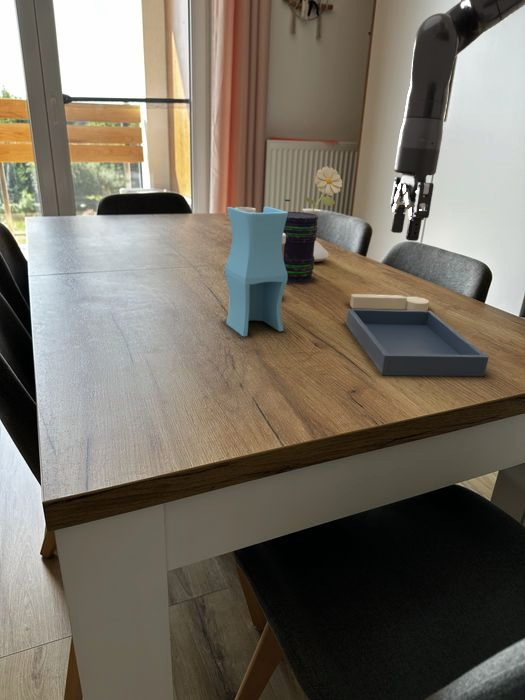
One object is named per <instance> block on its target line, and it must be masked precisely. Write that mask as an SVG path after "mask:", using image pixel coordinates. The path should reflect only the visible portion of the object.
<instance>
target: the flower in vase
mask: <svg viewBox="0 0 525 700" xmlns="http://www.w3.org/2000/svg"><path fill="white" fill-rule="evenodd" d="M315 174H316V176H315V180H314V184H315V185H316V187H317V188H318V191H319V192H320V193H321V196H320V198H319V199H318V201H317V202H316V200H315V199H312V198H310V197H308V196H306V195H304V200H305V201H306V202H307V203H309V204H312V205H314V207H313V208H302V211H303V213H310V214H315V215H317V216H318V217H319V215H320V213H321V212H322V209H319V208H317V206H318V205H319V203H320V202H321V203H322V204H323V205H324V206H326V207H329V206H333V205H336V202H335V200H334V199H333V198H332V197H333V196H335V194H338V193H340V192H341V188H342V187H343V179H341V175H340V174H339V172H338V171H337V169H334V168H333V167H332V166H330V167H329V166H328V165H326V166H323V167H322V168H321V169H318V170H317V171H316V173H315ZM324 195H326V196H324ZM323 196H324V197H323ZM313 256H314V263H320V262H323V261H326V260H328V258H329V256H330V255H329V252H328V251H327V250H326V248H325V247H323V245H321V244H320V243H319V241H317V239H316V240H315V243H314V254H313Z"/></svg>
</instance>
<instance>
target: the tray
mask: <svg viewBox="0 0 525 700" xmlns="http://www.w3.org/2000/svg"><path fill="white" fill-rule="evenodd" d="M345 325H346V327H347V328H348V330H349V331H350V332H351V334H352V336H353V337H354V338H355V340H356V341H357V342H358V344H359V345H360V347H361V349H363V351H364V353H365V354H366V355H367V356H368V358H369V359H370V361H371V362H372V364H373V365H374V367H375V368H376V369H377V371H378V372H379V374H380V375H381V376H413V377H414V376H419V377H420V376H422V377H438V376H439V377H485V375H486V370H487V367H488V362H489V356H488V355H487V354H485V353H484V352H483V351H482V350H480V349H479V347H477V346H476V345H474V344H473V343H472V342H471V341H469V340H468V339H467V338H465V337H464V336H463V335H462V334H461V333H459V332H458V331H457V330H456V329H454V328H453V327H452V326H451V325H449V324H448V323H447V322H445V321H444V320H443V319H442V318H441V317H439V316H438V315H437V314H436V313H434V312H433V311H432V310H427V311H417V310H406V309H405V310H402V309H360V308H348V309H347V314H346V323H345Z"/></svg>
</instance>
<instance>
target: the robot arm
mask: <svg viewBox="0 0 525 700" xmlns="http://www.w3.org/2000/svg"><path fill="white" fill-rule="evenodd" d="M524 6H525V0H460V1H459V2H458V3H456V4H454V6H452V7H451V8H450V9H448V10H447V11H446V12H445V13H444V12H440V13H439V12H438V13H434V14H432V15H430V16H428V17H427V18H426V19H425V20H424V21H422V23H421V24H420V26H419V27H418V29H417V31H416V34H415V36H414V44H413V52H412V61H411V70H410V71H411V72H410V82H409V86H408V91H407V95H406V99H405V105H404V110H403V118H402V122H401V126H400V130H399V134H398V141H397V148H396V154H395V160H394V167H393V170H394V172H395V173H397V174H401V176H395V177H394V178H393V185H392V191H391V197H390V203H389V208H390V209H391V211H392V213H393V214H392V220H391V227H390V231H391V233H394V234H401V233H402V232H403V230H404V224H405V219H406V212H407V211H408V222H407V228H406V234H405V240H407V241H410V242H417V241H418V240H419V238H420V232H421V227H422V222H423V221H424V220H425V219H428V218H429V217H430V211H431V205H432V198H433V191H434V183H433V182H427V176H434V175H435V174H436V173H437V169H438V164H439V158H440V152H441V146H442V141H443V136H444V122H445V116H446V112H447V106H448V100H449V89H450V81H451V77H452V74H453V69H454V65H455V61H456V57H457V56H458V55H459V54H460V53H462V52H463V51H464V50H466V48H468V47H469V46H470V45H471V44H473V43H475V41H476V40H477V39H478V38H480V37H481V36H482V35H483V34H484V33H486V32H488V31H489V30H491V29H493V28H494V27H496V26H498V25H499V24H500V23H502V22H504V21H505V20H506V19H507V18H509V17H510V16H511V15H513V14H514V13H515V12H517V11H518V10H520V9H521V8H523V7H524Z"/></svg>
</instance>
